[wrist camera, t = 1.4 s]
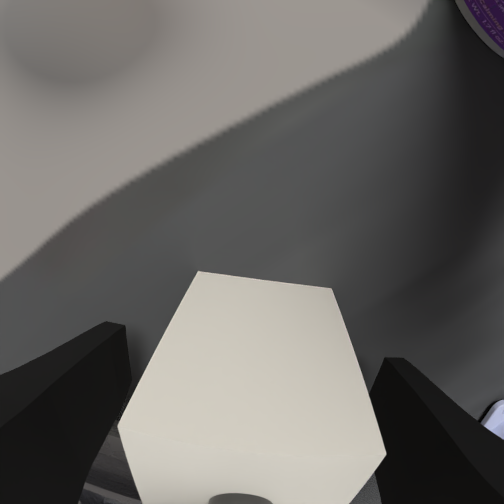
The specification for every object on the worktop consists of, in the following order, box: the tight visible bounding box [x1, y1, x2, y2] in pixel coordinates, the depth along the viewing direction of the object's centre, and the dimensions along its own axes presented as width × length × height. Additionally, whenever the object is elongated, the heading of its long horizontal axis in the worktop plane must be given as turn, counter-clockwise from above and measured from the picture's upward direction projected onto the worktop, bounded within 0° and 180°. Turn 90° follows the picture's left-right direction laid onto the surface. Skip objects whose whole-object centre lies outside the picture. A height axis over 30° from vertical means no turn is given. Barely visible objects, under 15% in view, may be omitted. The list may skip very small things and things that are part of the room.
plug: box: [118, 271, 386, 504], centre depth 7 cm, size 4×4×7 cm
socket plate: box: [78, 420, 142, 504], centre depth 13 cm, size 12×12×3 cm
